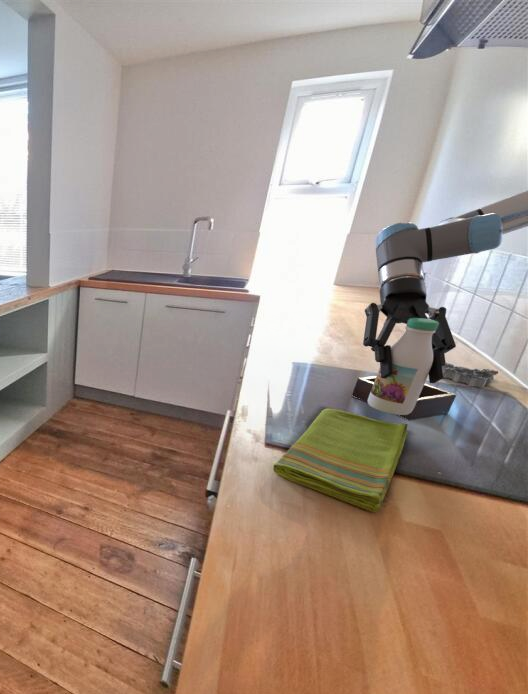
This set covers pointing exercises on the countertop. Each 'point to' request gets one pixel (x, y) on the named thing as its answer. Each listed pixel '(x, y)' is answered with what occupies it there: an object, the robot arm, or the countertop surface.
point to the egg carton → (469, 375)
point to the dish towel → (346, 457)
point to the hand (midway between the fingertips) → (411, 378)
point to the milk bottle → (406, 369)
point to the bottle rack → (427, 404)
